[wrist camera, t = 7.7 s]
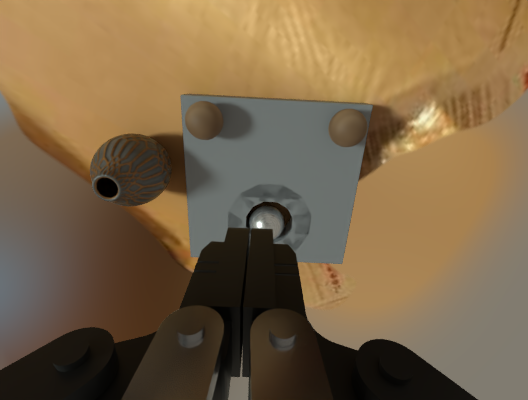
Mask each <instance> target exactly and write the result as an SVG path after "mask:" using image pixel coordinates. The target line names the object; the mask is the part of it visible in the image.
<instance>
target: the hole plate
mask: <svg viewBox="0 0 528 400" xmlns="http://www.w3.org/2000/svg"><path fill="white" fill-rule="evenodd" d="M199 101H208V102H211V103H213V104H214V105H216V106H217V107H218V108H219V110H220V111H221V113H222V116H223V127H222V130H221V132H220V133H219V134H218V135H217V136H216V137H215V138H213V139H210V140H201V139H198V138H196V137H194V136H193V135H192V134H191V133H190V132H189V131H188V129H187V127H186V124H185V115H186V112H187V110H188V108H189V107H190V106H191V105H192V104H194V103H196V102H199ZM372 106H373V105H370V104H366V103H353V102H334V101H315V100H296V99H277V98H258V97H239V96H221V95H202V94H183V95H181V110H182V125H183V141H184V156H185V172H186V188H187V203H188V219H189V235H190V250H191V257H199V256H200V253H201V250H202V249H203V248H204V247H206V246H207V245H208V244H209V243H210V242H211V241H216V242H224V241H225V237H226V233H227V229H228V227H235V228H250V226H249V220H248V218H247V214H248V213H249V212H250V210H251V209H252V207H254V206H256V205H258V204H260V203H262V202H277V203H279V204H281V205H282V206H284V207H286V208H287V209H288V210H289V212H290V214H291V216H290V220H289V222H288V223H287V224H286V226H285V227H284V229H283V231H282V233H281V234H280V235H279V236H278V237H277V238H276V239H273V244H288V245H289V246H290V247H291V248H292V250H293V251H294V252H295V253H296V257H297V262H311V263H333V264H342V262H343V257H344V252H345V247H346V242H347V236H348V231H349V226H350V221H351V216H352V210H353V205H354V200H355V195H356V189H357V184H358V179H359V174H360V169H361V164H362V158H363V153H364V148H365V143H366V138H367V132H368V127H369V122H370V117H371V112H372ZM344 109H355V110H357V111H359V112H361V113H362V114H363V115H364V117H365V118H366V121H367V132H366V135H365V137H364V138H363V140H362V141H361V142H360V143H358V144H357V145H355V146H352V147H341V146H338V145H337V144H335V143H334V142H333V141H332V140H331V138H330V136H329V132H328V127H329V123H330V120H331V119H332V117H333V116H334V115H335V114H336V113H337V112H339V111H341V110H344ZM250 237H251V230H250Z"/></svg>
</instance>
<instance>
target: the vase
mask: <svg viewBox="0 0 528 400" xmlns="http://www.w3.org/2000/svg"><path fill="white" fill-rule="evenodd" d="M171 171H172V167H171V161H170V158H169V155H168V153H167V152H166V150H165V149H164V148H163V146H162V145H161V144H159V143H158V142H157V141H155V140H154V139H152V138H150V137H147V136H144V135H140V134H124V135H120V136H117V137H114V138H112V139H110V140H108V141H107V142H105V143H104V144H103V145H102V146H101V147H100V148H99V149H98V150H97V152H96V153H95V155H94V157H93V159H92V162H91V166H90V175H91V179H92V188H93V190H94V192H95V194H96V195H97V196H98V197H99V198H101V199H103V200H105V201H110V202H112V203H115V204H118V205H122V206H137V205H142V204H145V203H148V202H150V201H152V200H153V199H155V198H156V197H158V196H159V195H160V194H161V193H162V192H163V191H164V189H165V188H166V186H167V185H168V183H169V180H170V177H171Z"/></svg>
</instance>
